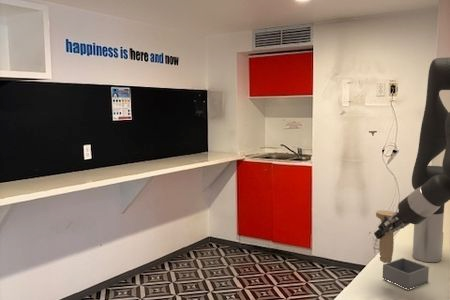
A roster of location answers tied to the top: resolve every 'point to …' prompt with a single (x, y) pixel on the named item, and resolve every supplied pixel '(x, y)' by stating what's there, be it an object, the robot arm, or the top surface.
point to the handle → (386, 239)
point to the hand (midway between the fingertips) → (380, 234)
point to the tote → (405, 273)
